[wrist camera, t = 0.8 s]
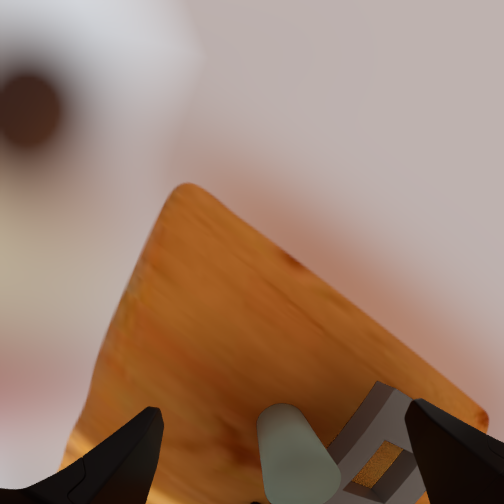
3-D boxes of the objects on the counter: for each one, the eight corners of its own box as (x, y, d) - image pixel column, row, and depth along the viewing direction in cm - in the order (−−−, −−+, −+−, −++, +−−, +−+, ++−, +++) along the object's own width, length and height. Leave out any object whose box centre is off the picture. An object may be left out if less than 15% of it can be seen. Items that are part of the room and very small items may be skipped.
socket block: (380, 510, 21) (393, 525, 17) (296, 481, 23) (303, 500, 19) (448, 424, 24) (467, 432, 20) (377, 380, 26) (395, 388, 22)
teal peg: (285, 452, 24) (308, 518, 12) (246, 430, 24) (248, 495, 13) (314, 417, 25) (355, 471, 13) (275, 394, 25) (297, 444, 14)
